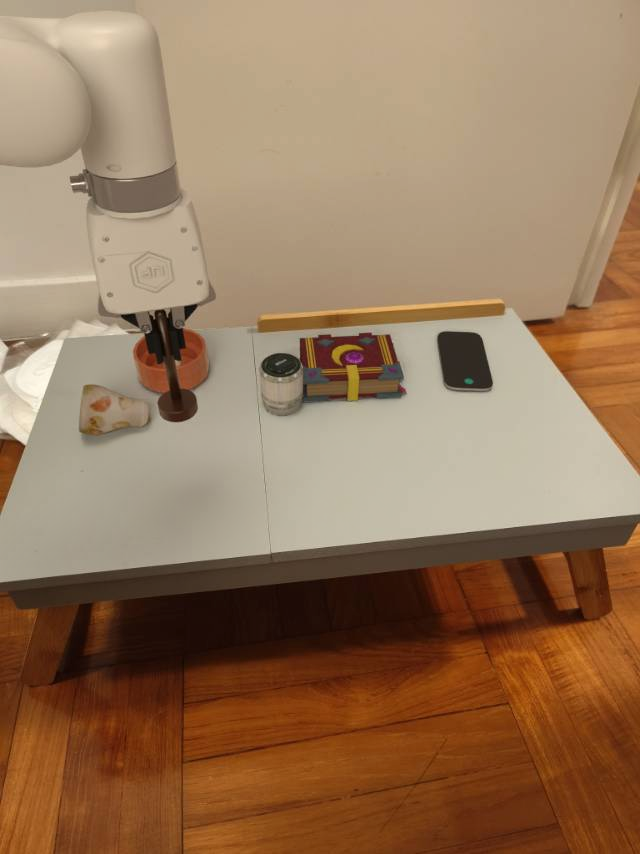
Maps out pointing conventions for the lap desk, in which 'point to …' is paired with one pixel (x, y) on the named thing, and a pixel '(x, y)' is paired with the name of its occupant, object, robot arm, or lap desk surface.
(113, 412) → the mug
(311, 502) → the lap desk surface
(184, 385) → the bowl
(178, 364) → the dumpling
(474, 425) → the lap desk surface
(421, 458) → the lap desk surface
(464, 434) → the lap desk surface
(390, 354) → the decorative book
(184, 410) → the round knob peg
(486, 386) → the smartphone
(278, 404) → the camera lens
